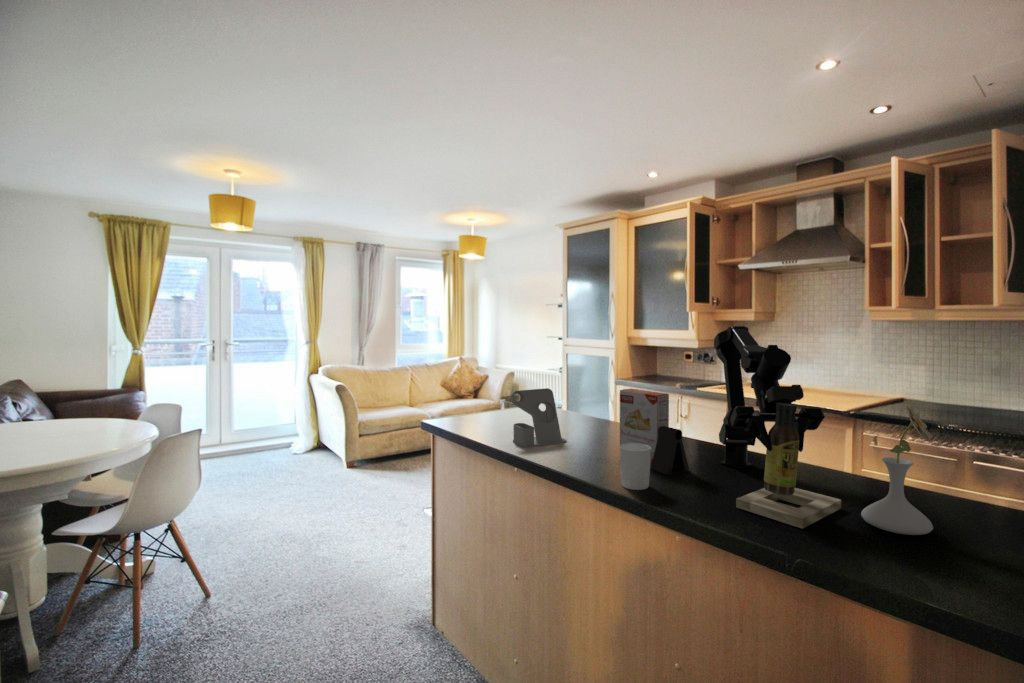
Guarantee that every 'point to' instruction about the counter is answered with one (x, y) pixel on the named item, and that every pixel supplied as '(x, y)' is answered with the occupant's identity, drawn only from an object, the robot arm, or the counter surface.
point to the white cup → (635, 465)
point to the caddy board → (800, 517)
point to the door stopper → (669, 452)
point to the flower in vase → (899, 491)
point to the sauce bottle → (782, 452)
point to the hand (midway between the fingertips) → (785, 450)
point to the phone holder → (537, 419)
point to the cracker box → (642, 416)
